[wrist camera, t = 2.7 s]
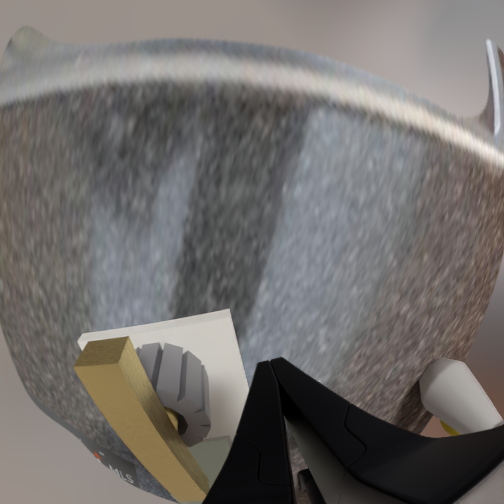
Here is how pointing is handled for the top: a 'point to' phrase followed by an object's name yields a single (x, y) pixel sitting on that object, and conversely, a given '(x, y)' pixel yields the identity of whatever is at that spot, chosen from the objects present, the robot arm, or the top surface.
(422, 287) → the top surface
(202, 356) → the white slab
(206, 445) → the pale green block
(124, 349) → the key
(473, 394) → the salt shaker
